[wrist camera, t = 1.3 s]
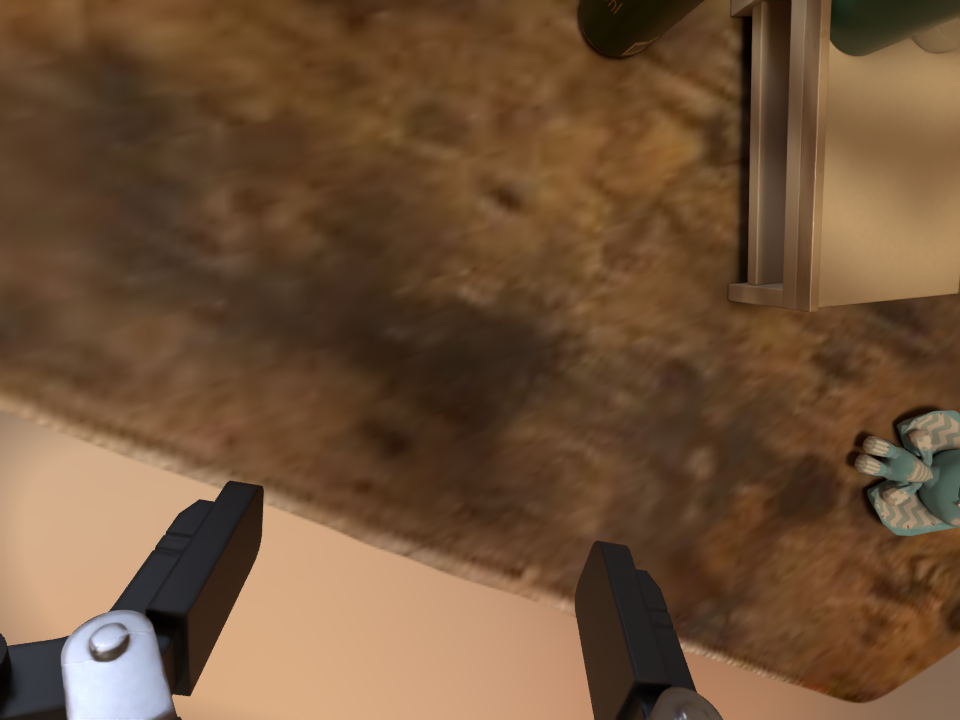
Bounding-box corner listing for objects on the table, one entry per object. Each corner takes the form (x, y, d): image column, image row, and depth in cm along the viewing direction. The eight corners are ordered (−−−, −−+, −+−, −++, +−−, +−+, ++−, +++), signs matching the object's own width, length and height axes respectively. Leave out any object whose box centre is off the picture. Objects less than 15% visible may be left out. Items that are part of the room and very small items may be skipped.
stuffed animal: (933, 398, 39) (1094, 454, 39) (865, 381, 46) (1001, 429, 46) (869, 538, 40) (1025, 591, 40) (812, 500, 47) (945, 546, 47)
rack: (730, -3, 37) (1072, -259, 18) (892, -6, 39) (1352, -243, 20) (727, 300, 41) (1005, 339, 22) (874, 286, 43) (1244, 311, 24)
